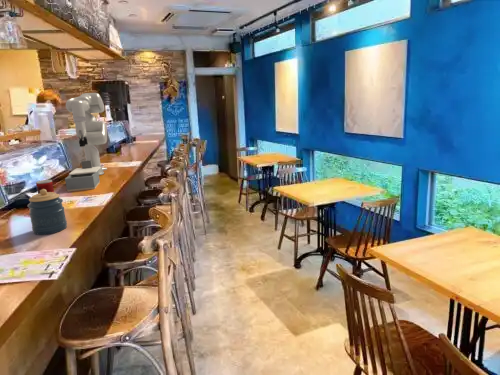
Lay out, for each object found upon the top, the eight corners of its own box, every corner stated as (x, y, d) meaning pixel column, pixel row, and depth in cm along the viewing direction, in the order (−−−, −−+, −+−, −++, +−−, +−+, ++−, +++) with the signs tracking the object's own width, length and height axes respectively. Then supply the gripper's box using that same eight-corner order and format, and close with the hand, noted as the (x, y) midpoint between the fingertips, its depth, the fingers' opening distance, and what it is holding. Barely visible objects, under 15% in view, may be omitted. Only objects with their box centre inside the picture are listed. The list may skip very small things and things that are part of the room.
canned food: (58, 198, 210) (54, 179, 207) (49, 202, 202) (45, 182, 199) (45, 198, 210) (42, 179, 208) (36, 202, 203) (32, 182, 200)
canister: (59, 222, 164) (52, 184, 160) (73, 227, 156) (66, 187, 152) (27, 231, 155) (19, 190, 150) (40, 237, 147) (32, 194, 142)
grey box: (74, 184, 244) (72, 172, 242) (99, 182, 247) (98, 170, 245) (67, 191, 225) (64, 178, 223) (95, 188, 228) (93, 176, 226)
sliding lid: (75, 169, 252) (74, 161, 251) (100, 167, 256) (99, 159, 254) (69, 175, 233) (67, 166, 232) (95, 172, 237) (94, 163, 235)
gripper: (76, 119, 251) (80, 144, 256) (70, 120, 235) (75, 147, 239) (88, 118, 253) (92, 143, 257) (83, 120, 237) (87, 146, 241)
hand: (83, 145), depth 248 cm, fingers open, 9 cm apart
